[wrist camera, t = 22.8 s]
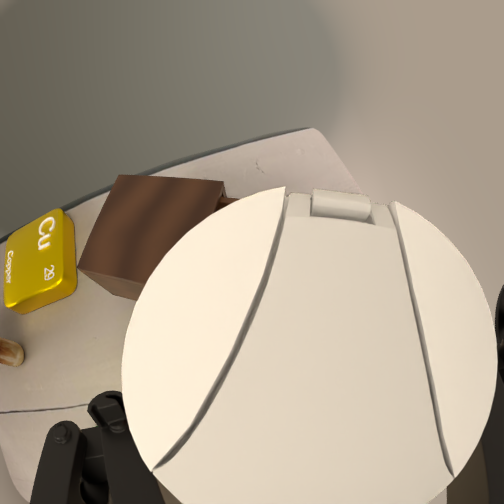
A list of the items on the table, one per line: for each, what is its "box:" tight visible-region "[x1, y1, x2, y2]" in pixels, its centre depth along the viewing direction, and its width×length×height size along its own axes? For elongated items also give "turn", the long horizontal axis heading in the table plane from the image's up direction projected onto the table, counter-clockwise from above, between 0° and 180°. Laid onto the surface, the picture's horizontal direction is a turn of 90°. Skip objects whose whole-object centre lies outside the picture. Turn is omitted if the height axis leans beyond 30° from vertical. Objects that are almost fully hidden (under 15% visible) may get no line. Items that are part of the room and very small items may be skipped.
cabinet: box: [77, 175, 226, 301], centre depth 36 cm, size 15×14×10 cm
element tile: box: [4, 208, 77, 314], centre depth 38 cm, size 15×15×5 cm
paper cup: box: [121, 186, 498, 504], centre depth 10 cm, size 8×8×14 cm
